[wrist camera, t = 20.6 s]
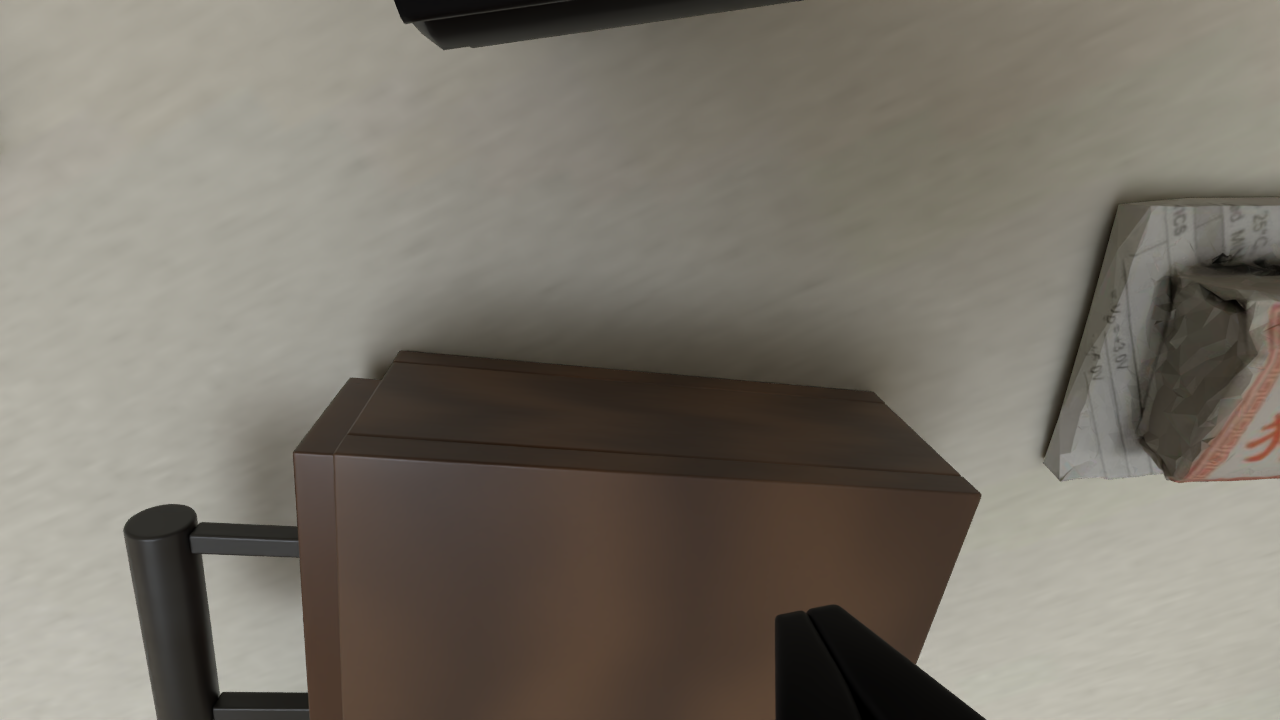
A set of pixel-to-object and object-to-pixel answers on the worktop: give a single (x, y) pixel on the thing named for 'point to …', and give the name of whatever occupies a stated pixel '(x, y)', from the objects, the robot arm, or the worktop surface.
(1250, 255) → the packaged product
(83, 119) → the worktop surface
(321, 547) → the drawer
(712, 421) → the cabinet
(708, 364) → the worktop surface
